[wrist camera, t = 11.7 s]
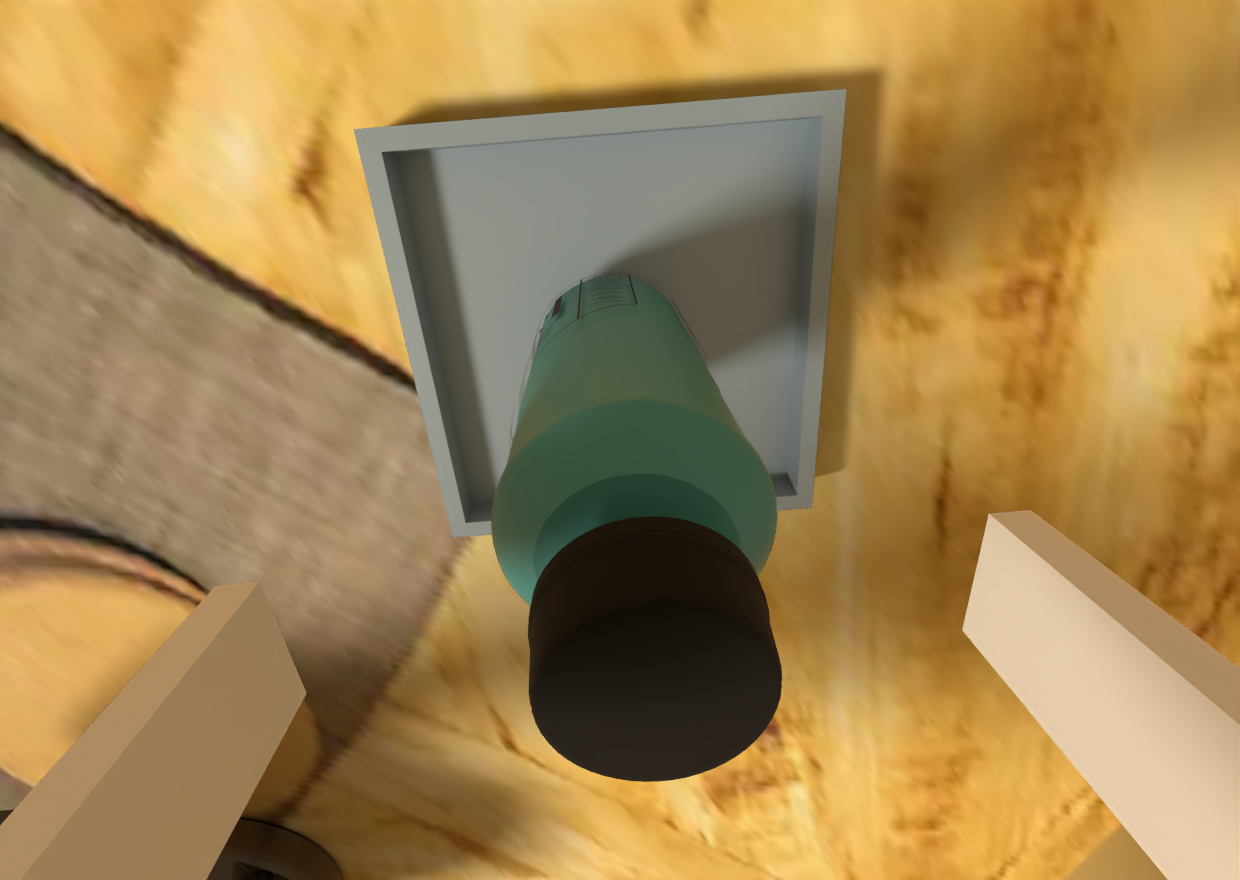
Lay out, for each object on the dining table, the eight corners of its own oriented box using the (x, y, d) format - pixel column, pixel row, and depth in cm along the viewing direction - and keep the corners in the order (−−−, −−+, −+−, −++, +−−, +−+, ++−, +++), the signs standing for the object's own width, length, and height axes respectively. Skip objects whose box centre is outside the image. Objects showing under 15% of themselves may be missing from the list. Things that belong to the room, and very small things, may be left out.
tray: (463, 510, 31) (452, 537, 29) (377, 132, 23) (353, 129, 21) (796, 482, 31) (812, 507, 29) (822, 96, 23) (846, 88, 21)
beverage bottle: (553, 249, 25) (438, 483, 7) (701, 282, 25) (962, 570, 7) (530, 389, 27) (404, 828, 9) (665, 415, 28) (790, 863, 10)
